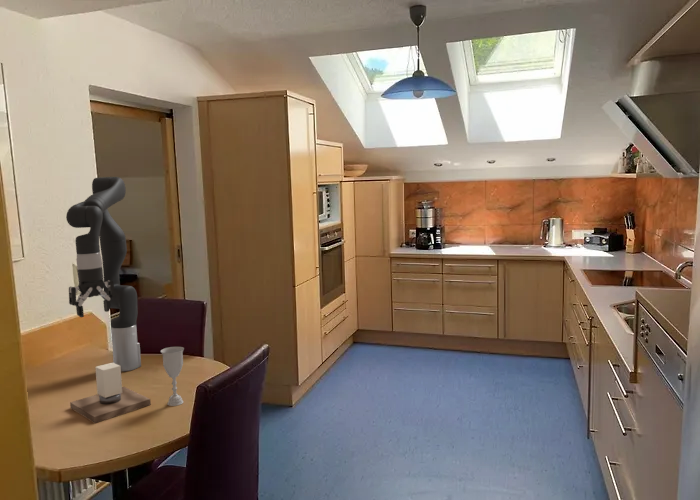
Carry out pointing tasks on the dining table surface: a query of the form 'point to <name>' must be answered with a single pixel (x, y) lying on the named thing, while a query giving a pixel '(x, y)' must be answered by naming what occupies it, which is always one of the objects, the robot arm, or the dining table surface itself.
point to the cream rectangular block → (108, 379)
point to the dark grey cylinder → (110, 399)
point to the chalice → (173, 370)
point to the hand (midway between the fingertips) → (94, 314)
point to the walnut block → (109, 405)
